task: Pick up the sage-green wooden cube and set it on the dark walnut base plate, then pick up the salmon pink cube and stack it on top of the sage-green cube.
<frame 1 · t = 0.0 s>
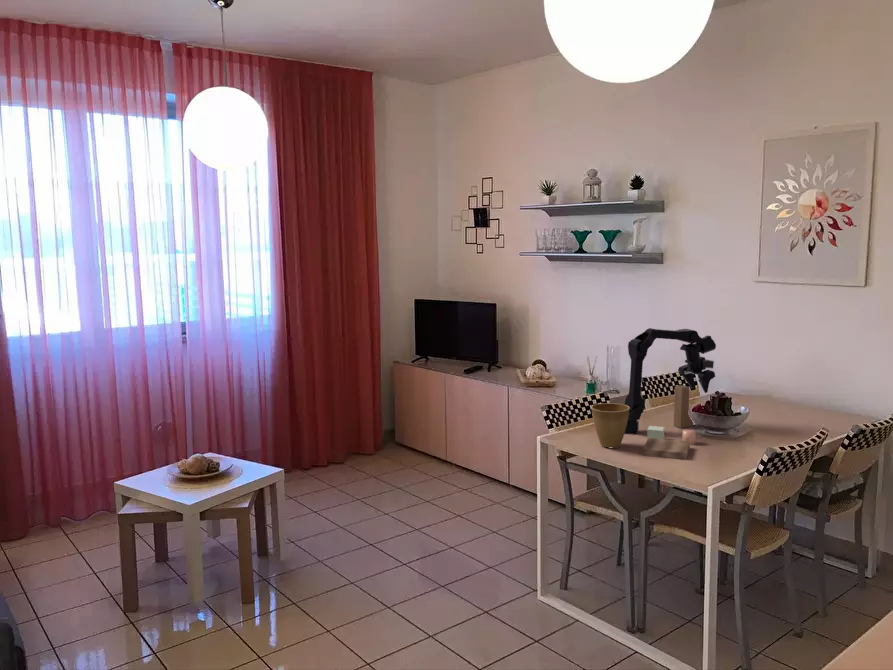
hand: (699, 390, 319), 15 cm above the table, tool pointing down, fingers open, 9 cm apart
wooden block: (684, 426, 319), on the table
walnut base: (666, 451, 283), on the table
sage cube: (655, 440, 299), on the table
salmon pink cube: (688, 443, 294), on the table
plant pot: (609, 446, 292), on the table
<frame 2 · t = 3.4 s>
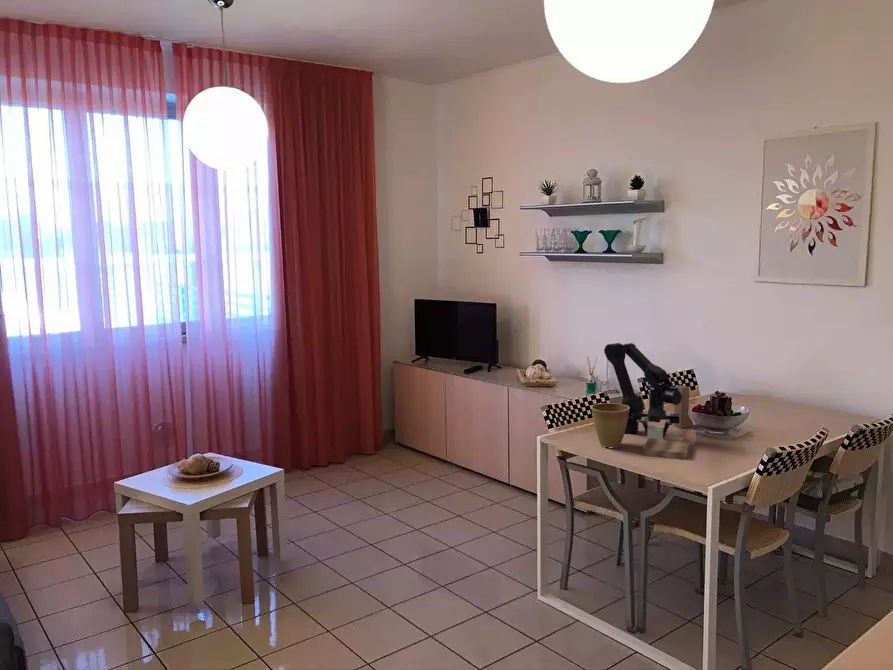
hand: (655, 437, 299), 1 cm above the table, tool pointing down, fingers closed on sage cube, 6 cm apart
sage cube: (655, 439, 299), on the table, touching gripper
everything else where it was.
when the fingers open (5 cm above the table, at t = 8.1 s): sage cube drops 1 cm, resting on walnut base.
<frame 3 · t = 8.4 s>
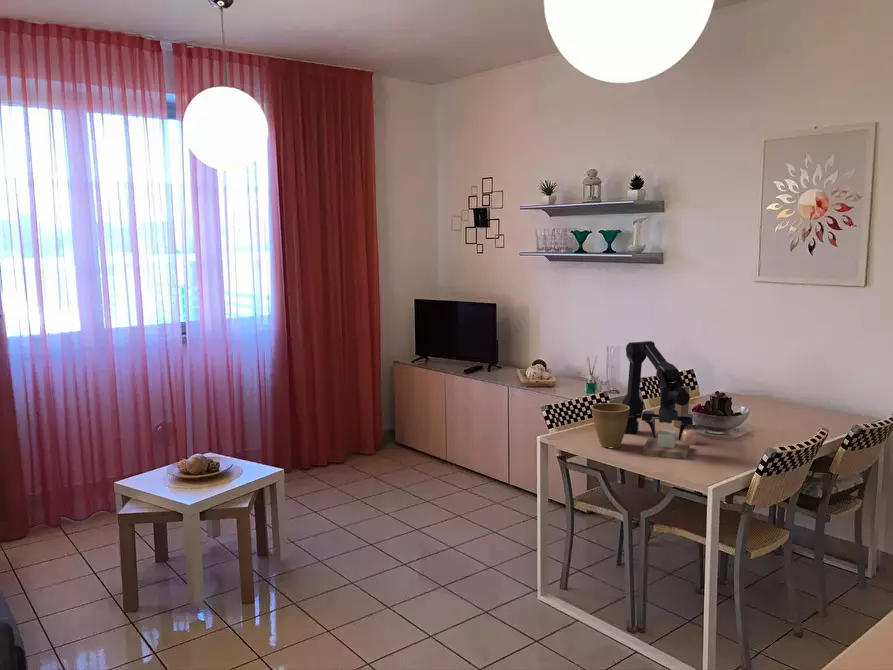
hand: (666, 439, 282), 5 cm above the table, tool pointing down, fingers open, 9 cm apart
sage cube: (666, 445, 283), point 2 cm above the table, touching walnut base
everything else where it was.
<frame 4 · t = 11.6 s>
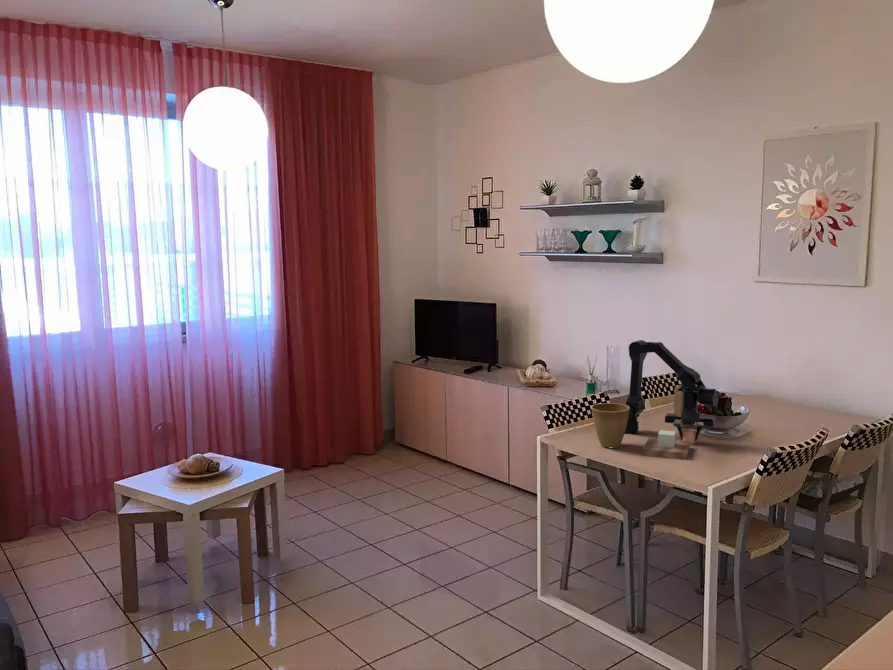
hand: (688, 440, 294), 1 cm above the table, tool pointing down, fingers closed on salmon pink cube, 5 cm apart
salmon pink cube: (688, 442, 294), on the table, touching gripper
everything else where it was.
when the fingers open (9 cm above the table, at t = 15.4 s): salmon pink cube stays where it is, resting on sage cube.
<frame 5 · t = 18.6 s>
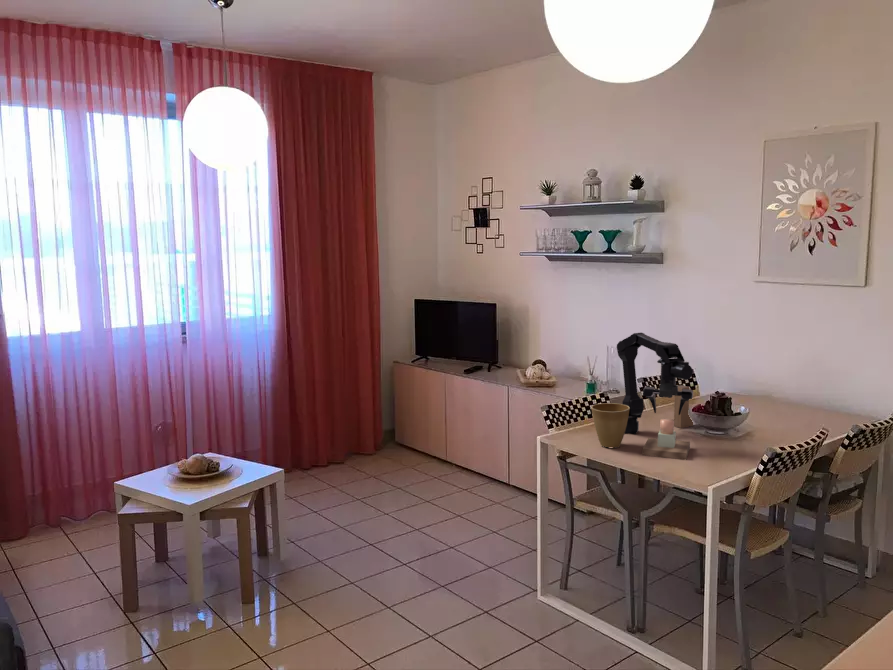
hand: (667, 413, 289), 13 cm above the table, tool pointing down, fingers open, 9 cm apart
sage cube: (666, 445, 283), point 2 cm above the table, touching salmon pink cube, walnut base
salmon pink cube: (666, 432, 282), point 7 cm above the table, touching sage cube
everything else where it was.
at the end: sage cube 0.1 cm off-centre on the walnut base, point 2.5 cm above the walnut base's base; salmon pink cube 0.1 cm off-centre on the walnut base, point 7.5 cm above the walnut base's base; salmon pink cube tilted 0° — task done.
